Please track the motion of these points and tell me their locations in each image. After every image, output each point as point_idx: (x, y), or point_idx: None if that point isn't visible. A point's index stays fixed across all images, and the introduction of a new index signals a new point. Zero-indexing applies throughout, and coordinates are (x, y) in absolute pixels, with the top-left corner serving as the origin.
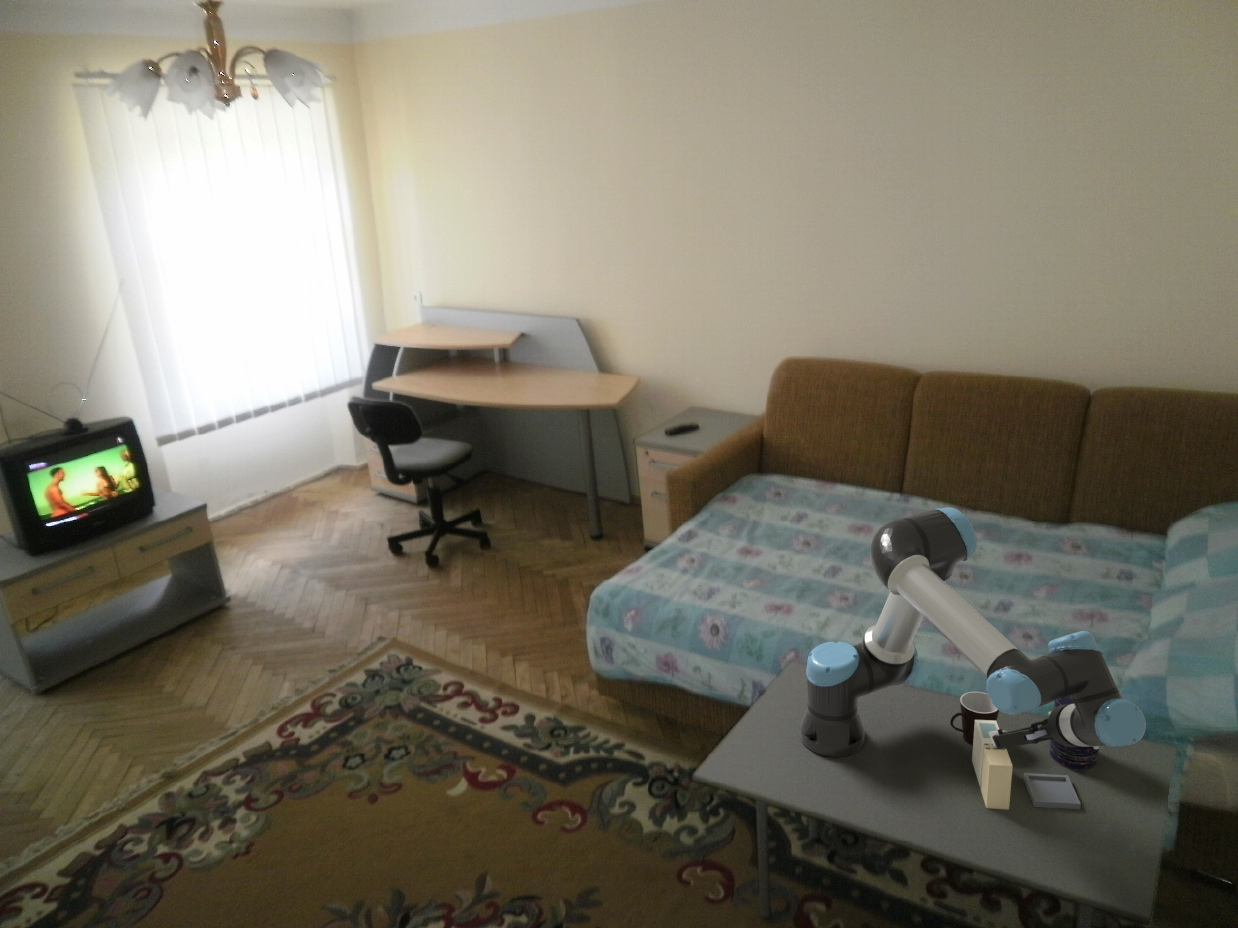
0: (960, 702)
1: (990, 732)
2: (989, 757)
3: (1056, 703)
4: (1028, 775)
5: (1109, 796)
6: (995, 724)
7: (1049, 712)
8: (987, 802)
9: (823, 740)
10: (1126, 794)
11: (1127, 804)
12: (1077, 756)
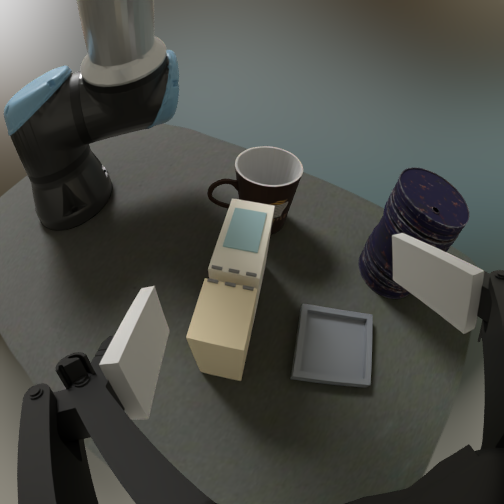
0: (236, 161)
1: (135, 298)
2: (200, 311)
3: (398, 192)
4: (308, 309)
5: (415, 356)
6: (268, 215)
7: (397, 239)
8: (200, 369)
9: (38, 208)
10: (436, 351)
11: (432, 373)
12: (397, 283)
